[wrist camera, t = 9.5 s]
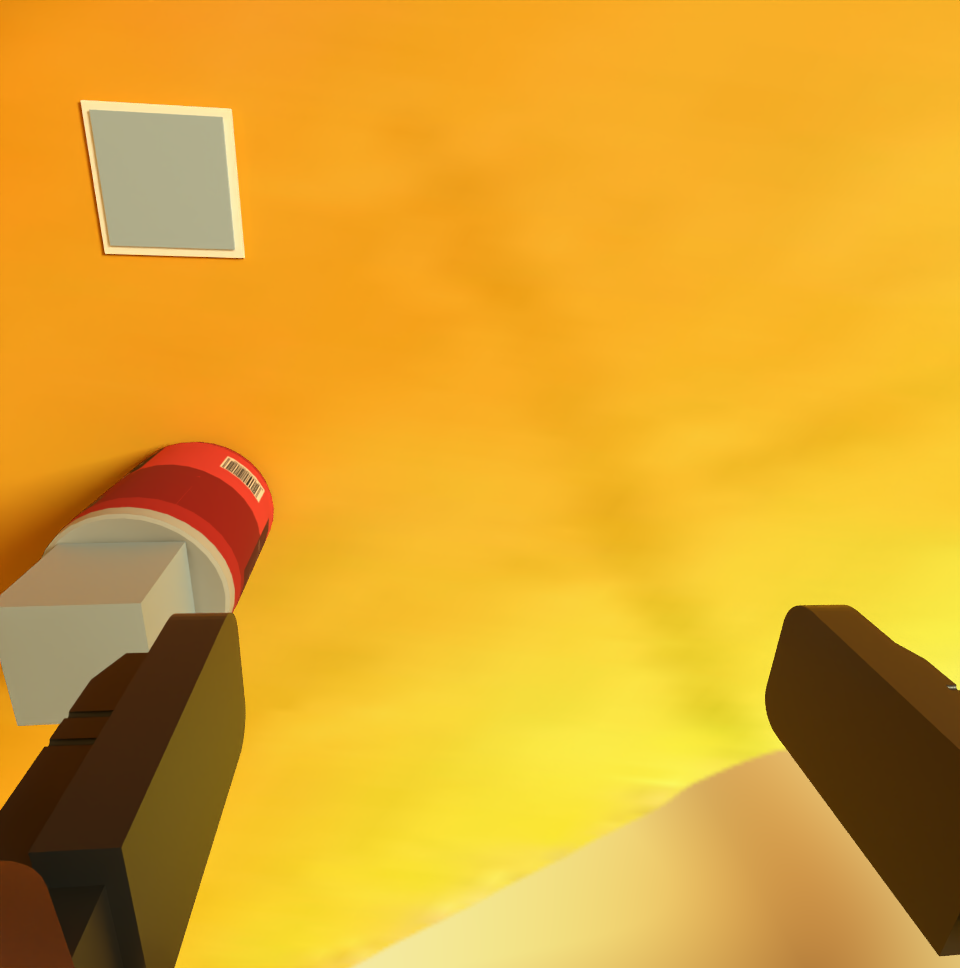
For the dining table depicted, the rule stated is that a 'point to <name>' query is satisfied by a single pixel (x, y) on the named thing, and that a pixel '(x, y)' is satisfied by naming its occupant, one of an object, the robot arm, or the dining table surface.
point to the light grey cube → (85, 618)
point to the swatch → (165, 179)
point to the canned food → (188, 516)
